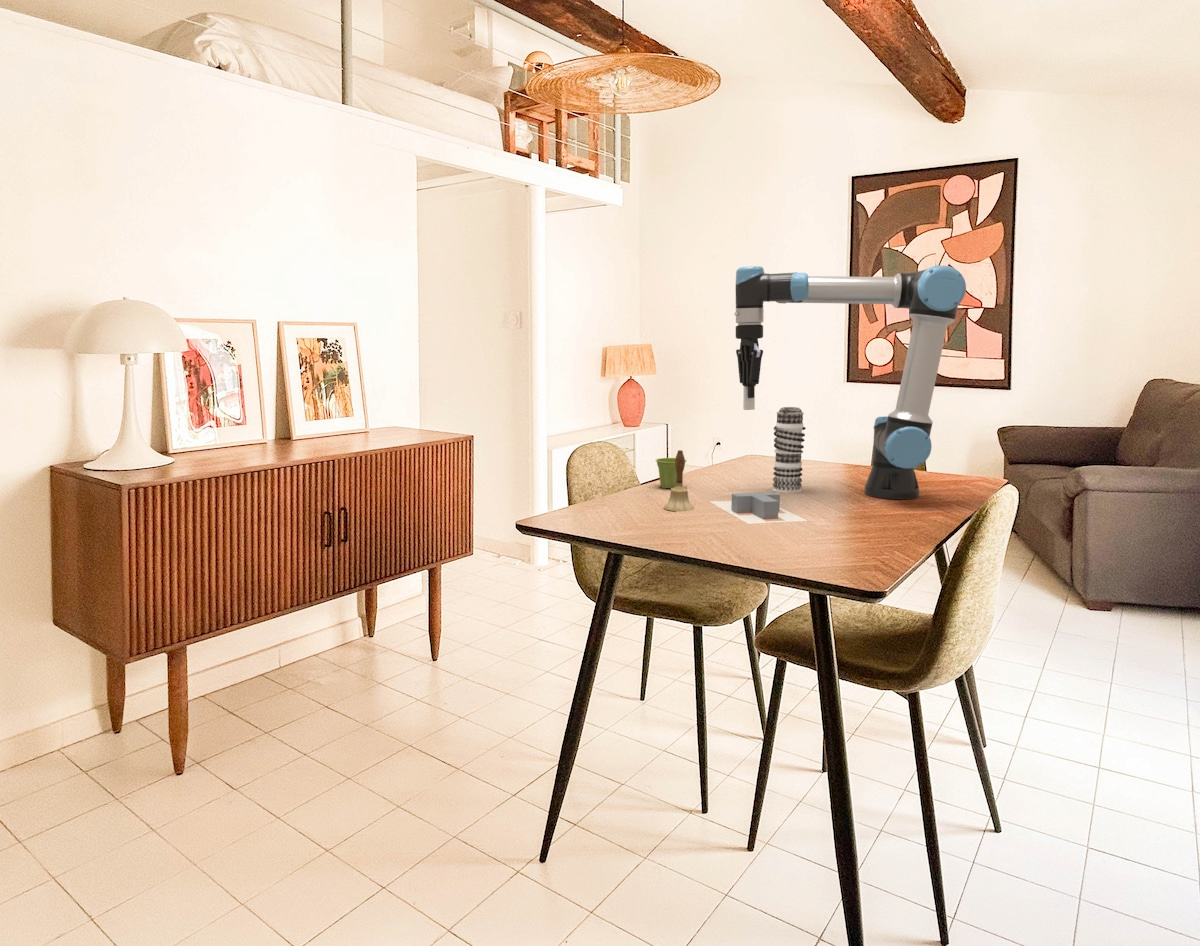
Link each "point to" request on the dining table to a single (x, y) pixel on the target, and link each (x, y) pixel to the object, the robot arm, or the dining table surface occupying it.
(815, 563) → the dining table surface
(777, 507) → the T block
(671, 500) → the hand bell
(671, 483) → the plant pot
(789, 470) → the decorative candle
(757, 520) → the board
